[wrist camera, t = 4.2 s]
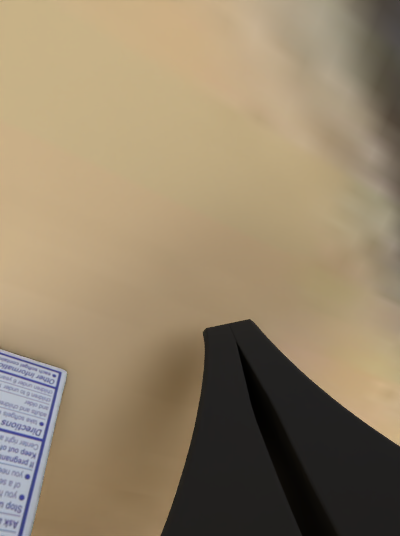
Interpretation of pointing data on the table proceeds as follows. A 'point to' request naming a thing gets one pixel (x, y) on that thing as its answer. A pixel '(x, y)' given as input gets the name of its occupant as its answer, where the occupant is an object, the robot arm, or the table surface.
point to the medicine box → (25, 436)
